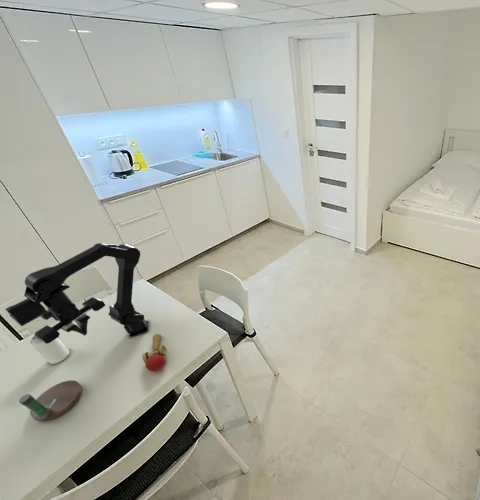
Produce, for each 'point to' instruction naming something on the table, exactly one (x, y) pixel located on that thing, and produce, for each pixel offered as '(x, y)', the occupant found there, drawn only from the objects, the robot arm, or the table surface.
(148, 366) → the kendama
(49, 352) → the can
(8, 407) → the table surface
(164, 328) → the table surface
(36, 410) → the disc
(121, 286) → the robot arm
